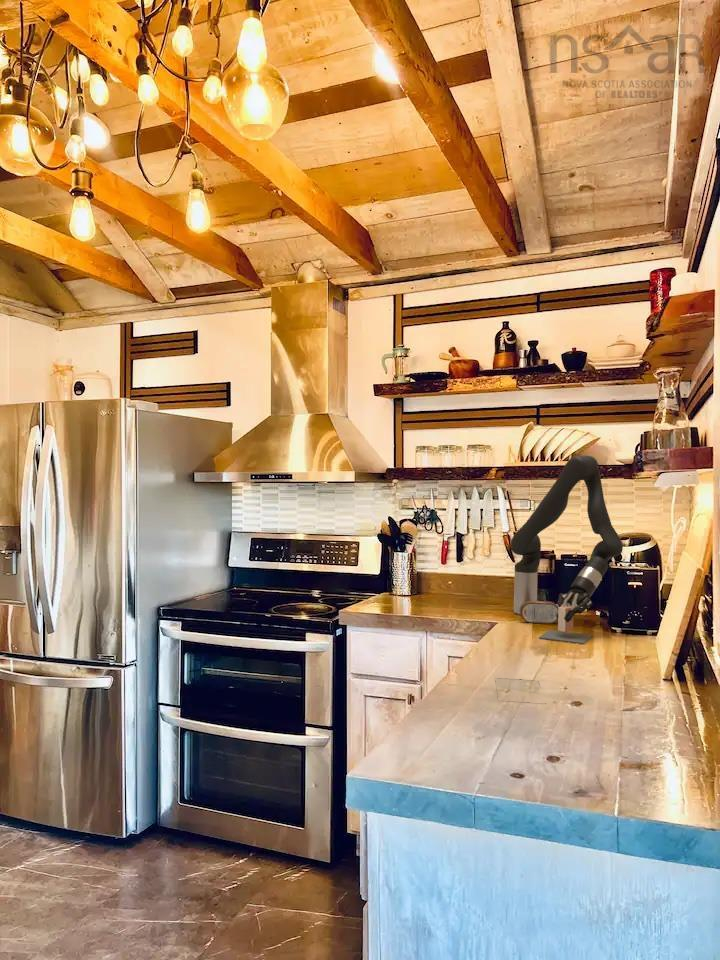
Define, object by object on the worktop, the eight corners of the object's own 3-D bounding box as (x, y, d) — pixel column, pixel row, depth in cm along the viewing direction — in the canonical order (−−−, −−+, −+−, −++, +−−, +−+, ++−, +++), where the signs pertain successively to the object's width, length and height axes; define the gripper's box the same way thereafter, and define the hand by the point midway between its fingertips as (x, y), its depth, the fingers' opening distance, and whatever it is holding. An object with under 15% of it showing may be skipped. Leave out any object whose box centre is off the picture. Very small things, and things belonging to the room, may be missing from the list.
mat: (548, 631, 249) (548, 629, 249) (591, 636, 242) (591, 635, 242) (539, 638, 236) (539, 637, 236) (583, 644, 229) (584, 643, 229)
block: (557, 630, 239) (558, 607, 239) (566, 628, 241) (566, 606, 241) (564, 631, 236) (564, 608, 236) (573, 630, 239) (573, 607, 239)
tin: (558, 623, 264) (559, 601, 264) (560, 624, 261) (561, 602, 261) (519, 621, 266) (519, 599, 266) (520, 623, 262) (520, 601, 262)
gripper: (566, 572, 249) (541, 609, 242) (597, 577, 237) (572, 616, 230) (576, 586, 252) (552, 622, 245) (607, 592, 240) (583, 630, 233)
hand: (562, 619), depth 238 cm, fingers closed on block, 3 cm apart
